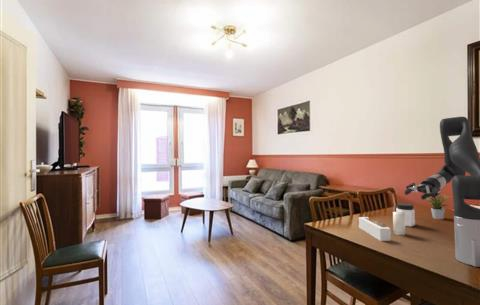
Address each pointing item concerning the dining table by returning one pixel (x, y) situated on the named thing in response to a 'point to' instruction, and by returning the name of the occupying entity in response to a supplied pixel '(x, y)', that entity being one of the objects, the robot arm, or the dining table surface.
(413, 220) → the jar
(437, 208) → the house plant
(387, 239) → the stop rail
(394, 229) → the white pillar candle
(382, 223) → the roller
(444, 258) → the dining table surface
